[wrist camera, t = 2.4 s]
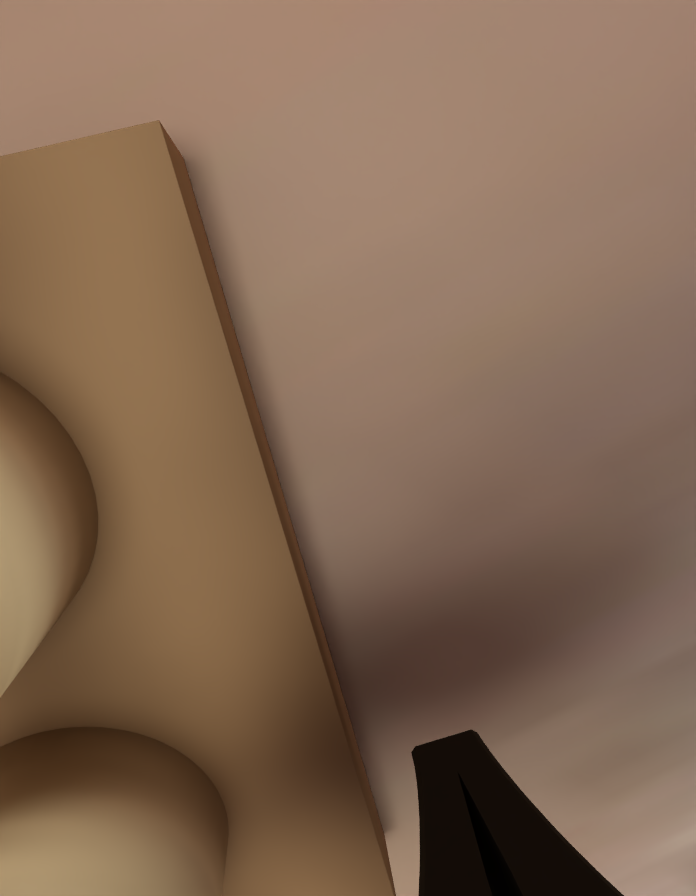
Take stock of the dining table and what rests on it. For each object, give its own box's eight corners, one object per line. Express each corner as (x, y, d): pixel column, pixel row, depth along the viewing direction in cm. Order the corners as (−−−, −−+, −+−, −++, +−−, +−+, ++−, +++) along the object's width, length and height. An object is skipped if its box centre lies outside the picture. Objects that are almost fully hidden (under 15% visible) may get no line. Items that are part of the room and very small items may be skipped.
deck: (182, 157, 10) (158, 119, 8) (384, 835, 15) (399, 913, 13) (-355, 283, 9) (-520, 275, 7) (39, 942, 14) (1, 1039, 12)
